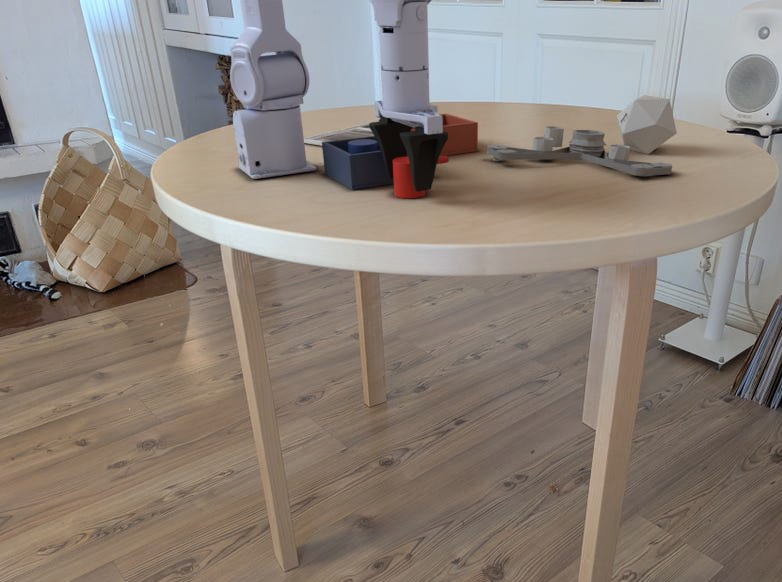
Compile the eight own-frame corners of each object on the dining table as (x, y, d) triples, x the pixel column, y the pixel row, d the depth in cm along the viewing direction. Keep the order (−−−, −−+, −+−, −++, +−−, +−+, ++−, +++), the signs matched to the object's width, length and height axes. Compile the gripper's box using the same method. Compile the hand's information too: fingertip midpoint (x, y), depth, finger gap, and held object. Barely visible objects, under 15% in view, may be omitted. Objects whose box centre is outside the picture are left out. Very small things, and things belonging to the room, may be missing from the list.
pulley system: (507, 149, 111) (477, 164, 98) (509, 120, 109) (479, 131, 96) (675, 168, 103) (666, 186, 90) (681, 136, 100) (673, 151, 88)
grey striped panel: (345, 149, 109) (412, 131, 122) (344, 145, 109) (412, 128, 122) (300, 142, 115) (368, 125, 127) (299, 139, 114) (368, 122, 127)
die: (625, 146, 113) (603, 99, 106) (677, 120, 109) (657, 70, 103) (635, 175, 108) (612, 128, 101) (689, 149, 104) (670, 99, 97)
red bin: (411, 160, 103) (410, 130, 100) (383, 148, 110) (381, 120, 108) (477, 151, 108) (478, 122, 106) (446, 140, 115) (446, 113, 113)
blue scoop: (357, 179, 91) (354, 146, 89) (346, 173, 94) (343, 141, 92) (408, 171, 94) (406, 139, 92) (395, 166, 97) (394, 135, 95)
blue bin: (352, 190, 88) (349, 155, 86) (324, 174, 96) (321, 142, 93) (432, 177, 93) (431, 144, 91) (400, 163, 101) (398, 132, 99)
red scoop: (402, 200, 84) (401, 164, 81) (389, 193, 87) (387, 158, 84) (456, 191, 87) (456, 157, 85) (441, 184, 90) (440, 151, 88)
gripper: (465, 72, 75) (465, 191, 81) (407, 61, 86) (411, 167, 92) (409, 76, 72) (414, 200, 78) (356, 65, 83) (364, 174, 89)
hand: (409, 183), depth 85 cm, fingers open, 7 cm apart
